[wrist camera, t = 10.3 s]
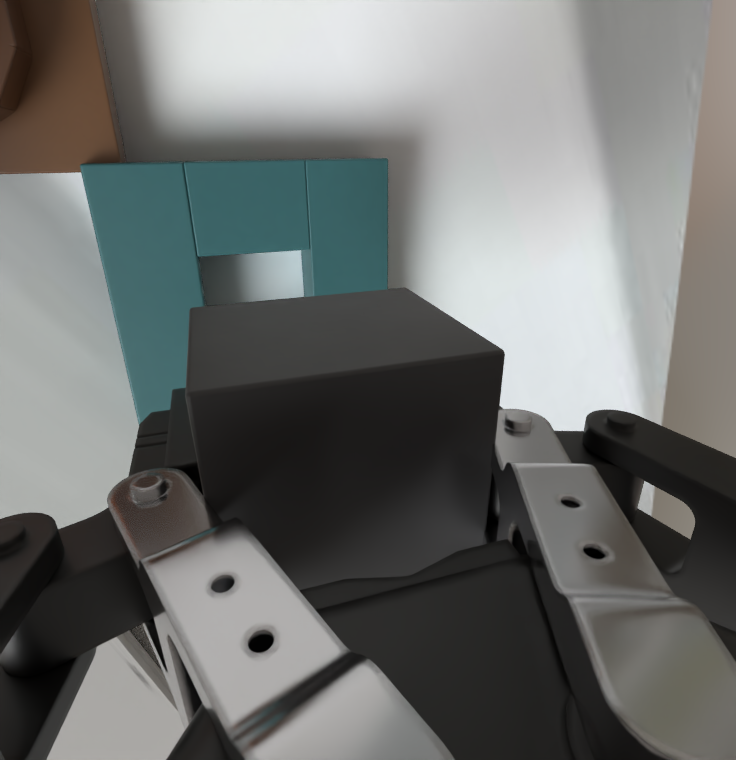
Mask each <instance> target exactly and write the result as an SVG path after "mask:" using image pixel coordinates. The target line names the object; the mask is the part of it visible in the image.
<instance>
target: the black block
mask: <svg viewBox="0 0 736 760" xmlns="http://www.w3.org/2000/svg"><path fill="white" fill-rule="evenodd" d="M504 356H505V354H504V351H503V350H502V349H501V348H499V347H498V346H496V345H494V344H493V343H491V342H490V341H488V340H487V339H485V338H483V337H482V336H480V335H479V334H477V333H476V332H474V331H473V330H471V329H469V328H468V327H466V326H465V325H463V324H462V323H460V322H458V321H457V320H455V319H454V318H452V317H451V316H449V315H448V314H446V313H444V312H443V311H441V310H440V309H438V308H437V307H435V306H433V305H432V304H430V303H429V302H427V301H426V300H424V299H423V298H421V297H419V296H418V295H416V294H415V293H413V292H412V291H410V290H408V289H407V288H397V289H386V290H375V291H365V292H354V293H343V294H332V295H322V296H311V297H300V298H289V299H278V300H268V301H257V302H246V303H235V304H225V305H214V306H203V307H193V308H191V309H190V311H189V330H188V350H187V371H186V391H185V398H186V404H187V409H188V414H189V420H190V425H191V431H192V436H193V442H194V447H195V453H196V458H197V463H198V469H199V474H200V480H201V485H202V491H203V496H204V497H205V499H206V500H207V501H208V503H209V504H210V505H211V506H212V508H213V509H214V510H215V512H216V513H217V514H218V516H219V517H220V518H221V519H222V521H223V522H225V521H228V520H230V519H232V518H234V517H236V518H239V519H240V520H241V521H242V522H243V523H244V524H245V526H246V527H247V528H248V529H249V530H250V532H251V533H252V534H253V535H254V536H255V538H256V539H257V540H258V541H259V543H260V544H261V545H262V546H263V547H264V549H265V550H266V551H267V552H268V553H269V555H270V556H271V557H272V558H273V559H274V561H275V562H276V563H277V564H278V566H279V567H280V568H281V569H282V570H283V572H284V573H285V574H286V575H287V576H288V578H289V579H290V580H291V581H292V582H293V584H294V585H295V586H296V587H297V589H298V590H302V589H306V588H310V587H314V586H318V585H322V584H326V583H331V582H335V581H339V580H343V579H353V578H378V577H402V576H409V575H412V574H414V573H416V572H418V571H420V570H422V569H424V568H426V567H428V566H430V565H432V564H434V563H436V562H438V561H440V560H441V559H443V558H445V557H447V556H449V555H451V554H453V553H455V552H457V551H460V550H464V549H468V548H472V547H476V546H480V545H483V535H484V531H485V530H486V527H487V517H488V508H489V498H490V489H491V479H492V469H491V457H492V447H493V444H495V441H496V432H497V422H498V413H499V403H500V394H501V384H502V375H503V365H504Z"/></svg>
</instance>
